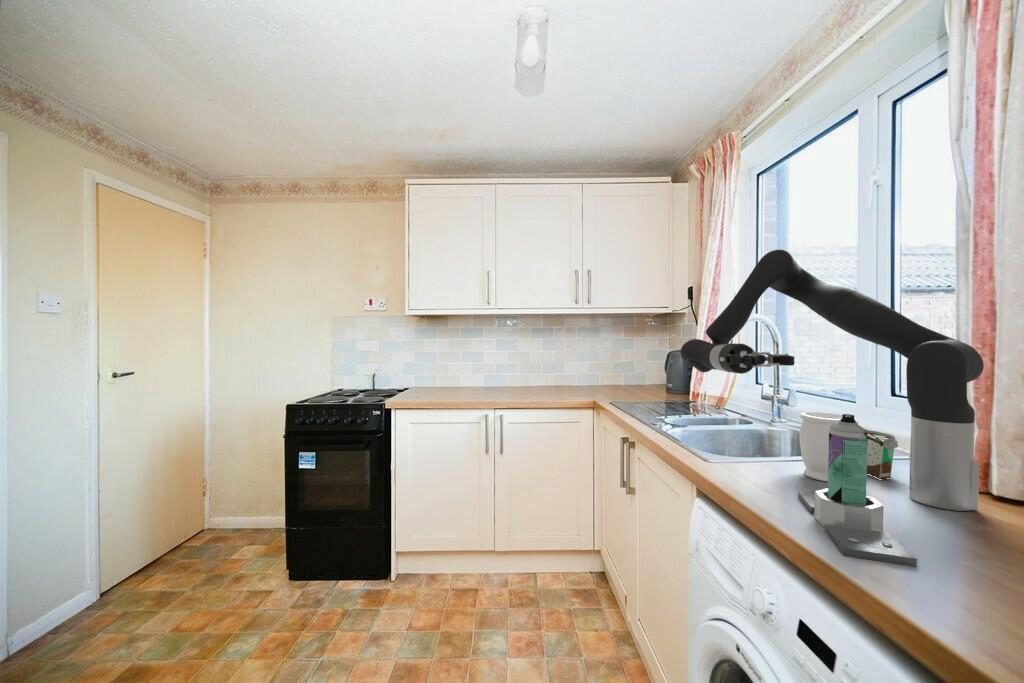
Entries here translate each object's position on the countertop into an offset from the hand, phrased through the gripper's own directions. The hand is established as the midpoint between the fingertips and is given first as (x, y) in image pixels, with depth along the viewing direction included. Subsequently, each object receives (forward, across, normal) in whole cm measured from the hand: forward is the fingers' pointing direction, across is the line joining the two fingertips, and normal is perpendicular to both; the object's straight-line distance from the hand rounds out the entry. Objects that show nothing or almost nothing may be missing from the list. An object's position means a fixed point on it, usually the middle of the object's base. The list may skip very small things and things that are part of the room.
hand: (774, 360), depth 96 cm
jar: (-7, +18, +29) cm, 34 cm away
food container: (-8, +33, +29) cm, 44 cm away
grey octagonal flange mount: (+18, 0, +29) cm, 34 cm away
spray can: (+18, 0, +29) cm, 34 cm away
